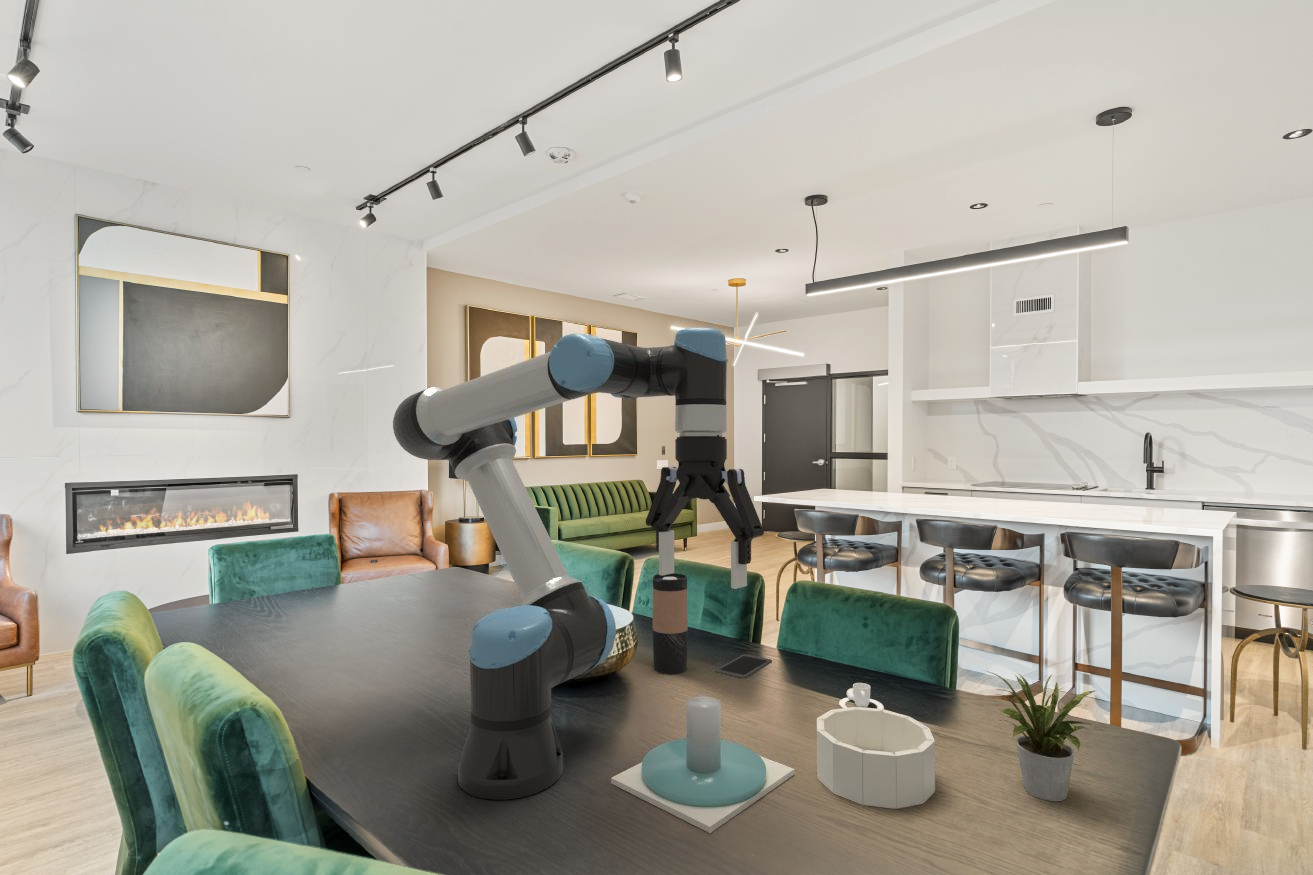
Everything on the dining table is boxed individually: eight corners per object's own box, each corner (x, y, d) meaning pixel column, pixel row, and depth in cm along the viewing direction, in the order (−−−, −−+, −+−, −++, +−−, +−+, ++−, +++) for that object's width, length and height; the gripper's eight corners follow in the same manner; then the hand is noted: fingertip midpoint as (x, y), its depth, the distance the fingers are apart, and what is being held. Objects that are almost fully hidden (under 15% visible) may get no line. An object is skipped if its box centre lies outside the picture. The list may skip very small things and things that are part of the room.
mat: (710, 833, 83) (710, 826, 83) (611, 783, 95) (611, 777, 95) (794, 774, 97) (794, 768, 97) (699, 737, 109) (699, 732, 109)
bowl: (905, 821, 85) (905, 766, 85) (796, 779, 96) (796, 730, 96) (950, 775, 97) (949, 727, 97) (848, 742, 107) (848, 699, 108)
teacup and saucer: (846, 695, 129) (846, 674, 129) (888, 703, 125) (888, 681, 125) (833, 710, 122) (833, 688, 122) (878, 719, 117) (878, 696, 117)
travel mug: (688, 663, 147) (688, 573, 147) (687, 675, 139) (686, 580, 139) (654, 662, 147) (654, 572, 148) (650, 674, 140) (650, 579, 140)
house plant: (962, 788, 93) (961, 672, 93) (996, 755, 103) (995, 650, 103) (1079, 830, 83) (1078, 699, 83) (1105, 789, 93) (1104, 672, 93)
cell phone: (773, 662, 148) (773, 659, 148) (744, 680, 137) (744, 677, 137) (744, 656, 152) (744, 653, 152) (713, 673, 141) (713, 670, 141)
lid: (714, 823, 83) (714, 741, 83) (615, 774, 95) (615, 704, 96) (790, 771, 96) (790, 701, 97) (694, 734, 109) (694, 672, 109)
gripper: (788, 434, 91) (788, 588, 91) (656, 436, 108) (656, 565, 108) (757, 433, 86) (757, 598, 85) (623, 435, 103) (623, 572, 102)
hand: (701, 580), depth 97 cm, fingers open, 13 cm apart
